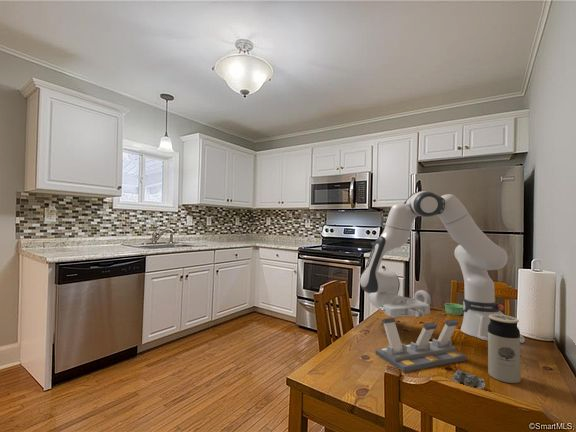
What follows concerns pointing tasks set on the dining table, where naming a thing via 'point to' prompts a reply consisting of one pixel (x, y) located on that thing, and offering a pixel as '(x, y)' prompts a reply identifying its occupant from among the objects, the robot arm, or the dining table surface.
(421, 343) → the lever middle
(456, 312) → the ramekin
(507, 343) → the travel mug
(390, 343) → the lever outer
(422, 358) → the switch panel
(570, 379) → the dining table surface
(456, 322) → the lever inner
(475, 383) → the egg carton
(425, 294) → the donut
